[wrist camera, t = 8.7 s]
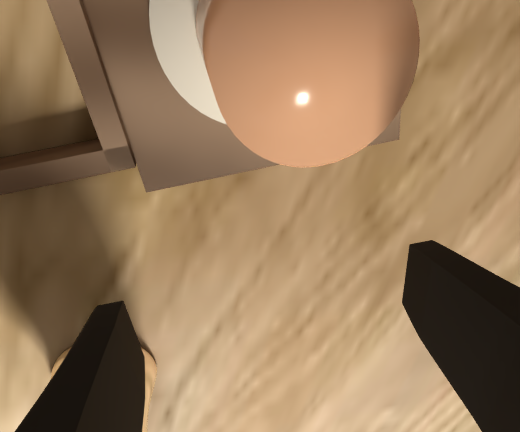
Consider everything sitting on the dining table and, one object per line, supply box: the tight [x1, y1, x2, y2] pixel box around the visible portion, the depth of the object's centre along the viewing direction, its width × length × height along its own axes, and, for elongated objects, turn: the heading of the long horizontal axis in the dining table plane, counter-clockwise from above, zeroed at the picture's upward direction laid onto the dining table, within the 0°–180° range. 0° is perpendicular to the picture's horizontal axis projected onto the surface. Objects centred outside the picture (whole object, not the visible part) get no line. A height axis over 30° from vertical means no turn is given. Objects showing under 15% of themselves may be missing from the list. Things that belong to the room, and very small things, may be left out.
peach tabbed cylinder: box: [196, 0, 420, 167], centre depth 12 cm, size 5×7×7 cm
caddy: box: [0, 0, 401, 195], centre depth 15 cm, size 12×21×2 cm, turn 98°
